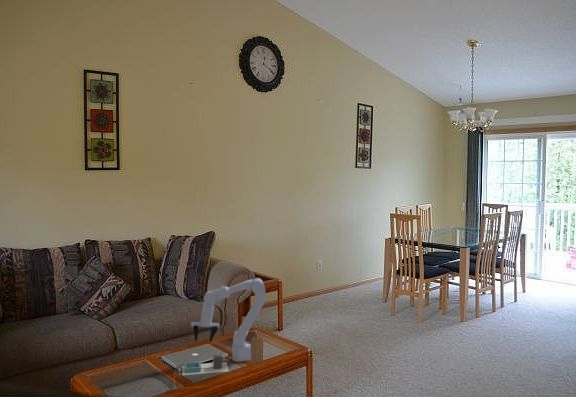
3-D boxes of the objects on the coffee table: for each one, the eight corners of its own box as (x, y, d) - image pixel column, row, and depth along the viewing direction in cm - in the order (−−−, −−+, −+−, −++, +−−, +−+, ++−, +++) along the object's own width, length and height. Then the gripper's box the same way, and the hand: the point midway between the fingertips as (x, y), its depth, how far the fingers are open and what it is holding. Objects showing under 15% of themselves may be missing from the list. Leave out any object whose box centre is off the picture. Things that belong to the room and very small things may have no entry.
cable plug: (221, 365, 234) (221, 353, 234) (221, 368, 230) (221, 355, 230) (213, 366, 233) (213, 353, 233) (213, 369, 229) (213, 356, 229)
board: (226, 363, 239) (226, 358, 239) (228, 373, 226) (228, 367, 226) (182, 367, 234) (182, 361, 234) (182, 377, 221) (182, 370, 221)
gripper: (219, 313, 248) (215, 338, 248) (191, 311, 242) (187, 337, 242) (222, 317, 241) (218, 343, 241) (194, 315, 236) (189, 342, 236)
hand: (203, 340), depth 241 cm, fingers open, 7 cm apart
